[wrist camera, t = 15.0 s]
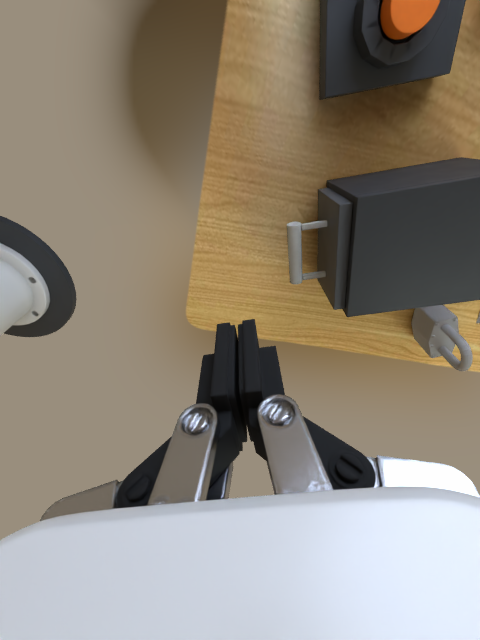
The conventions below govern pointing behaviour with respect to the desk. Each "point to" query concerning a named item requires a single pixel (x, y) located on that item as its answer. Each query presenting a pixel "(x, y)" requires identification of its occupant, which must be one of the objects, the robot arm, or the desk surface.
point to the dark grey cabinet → (413, 236)
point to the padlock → (441, 335)
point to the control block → (381, 47)
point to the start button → (405, 16)
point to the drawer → (325, 246)
